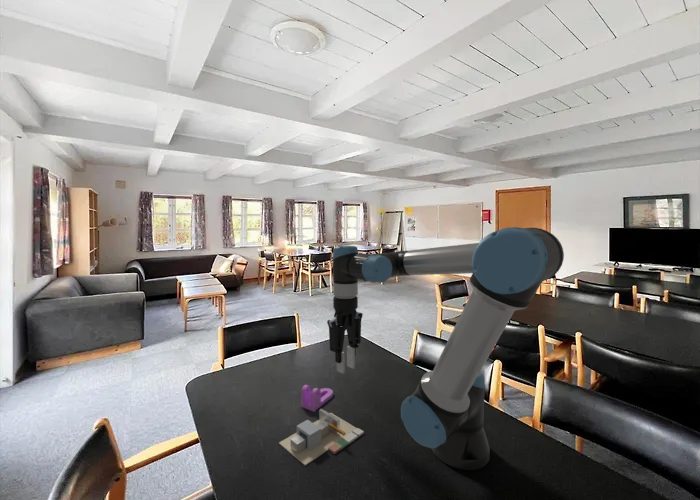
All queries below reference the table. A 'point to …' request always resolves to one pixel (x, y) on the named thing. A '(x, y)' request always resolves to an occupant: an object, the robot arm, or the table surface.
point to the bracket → (314, 397)
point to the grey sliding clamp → (326, 424)
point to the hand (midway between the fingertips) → (345, 369)
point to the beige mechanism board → (321, 440)
